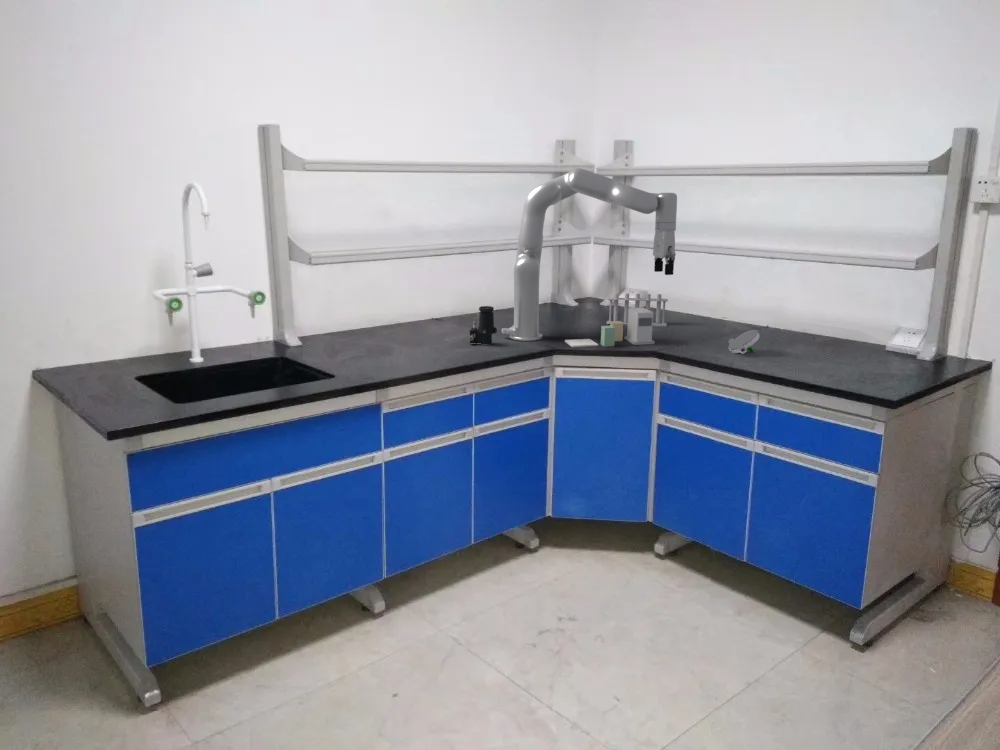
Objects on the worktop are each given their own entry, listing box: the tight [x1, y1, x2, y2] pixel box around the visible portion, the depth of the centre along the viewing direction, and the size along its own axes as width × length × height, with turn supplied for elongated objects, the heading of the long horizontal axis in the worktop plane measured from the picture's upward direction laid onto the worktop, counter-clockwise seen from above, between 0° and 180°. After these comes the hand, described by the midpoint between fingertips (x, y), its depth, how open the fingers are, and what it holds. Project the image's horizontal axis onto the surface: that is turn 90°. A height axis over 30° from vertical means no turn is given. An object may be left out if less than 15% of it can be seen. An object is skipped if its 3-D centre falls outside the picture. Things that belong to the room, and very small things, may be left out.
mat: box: [564, 338, 599, 348], centre depth 290 cm, size 10×10×1 cm
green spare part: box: [600, 325, 616, 347], centre depth 287 cm, size 4×4×7 cm
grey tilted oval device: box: [727, 329, 760, 355], centre depth 277 cm, size 15×8×11 cm
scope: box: [468, 305, 498, 345], centre depth 288 cm, size 8×14×10 cm
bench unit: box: [623, 307, 656, 346], centre depth 293 cm, size 8×11×12 cm
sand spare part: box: [608, 320, 624, 342], centre depth 296 cm, size 4×4×7 cm
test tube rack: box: [606, 292, 669, 327], centre depth 325 cm, size 25×4×13 cm, turn 82°
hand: (663, 273), depth 290 cm, fingers open, 9 cm apart
